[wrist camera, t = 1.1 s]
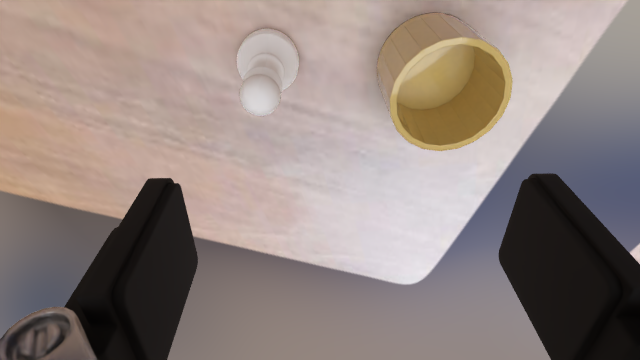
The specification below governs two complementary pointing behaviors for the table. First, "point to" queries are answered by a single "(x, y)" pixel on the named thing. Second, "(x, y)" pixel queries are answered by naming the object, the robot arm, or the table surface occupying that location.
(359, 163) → the table surface
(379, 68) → the yellow cup
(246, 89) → the chess pawn
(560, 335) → the robot arm
